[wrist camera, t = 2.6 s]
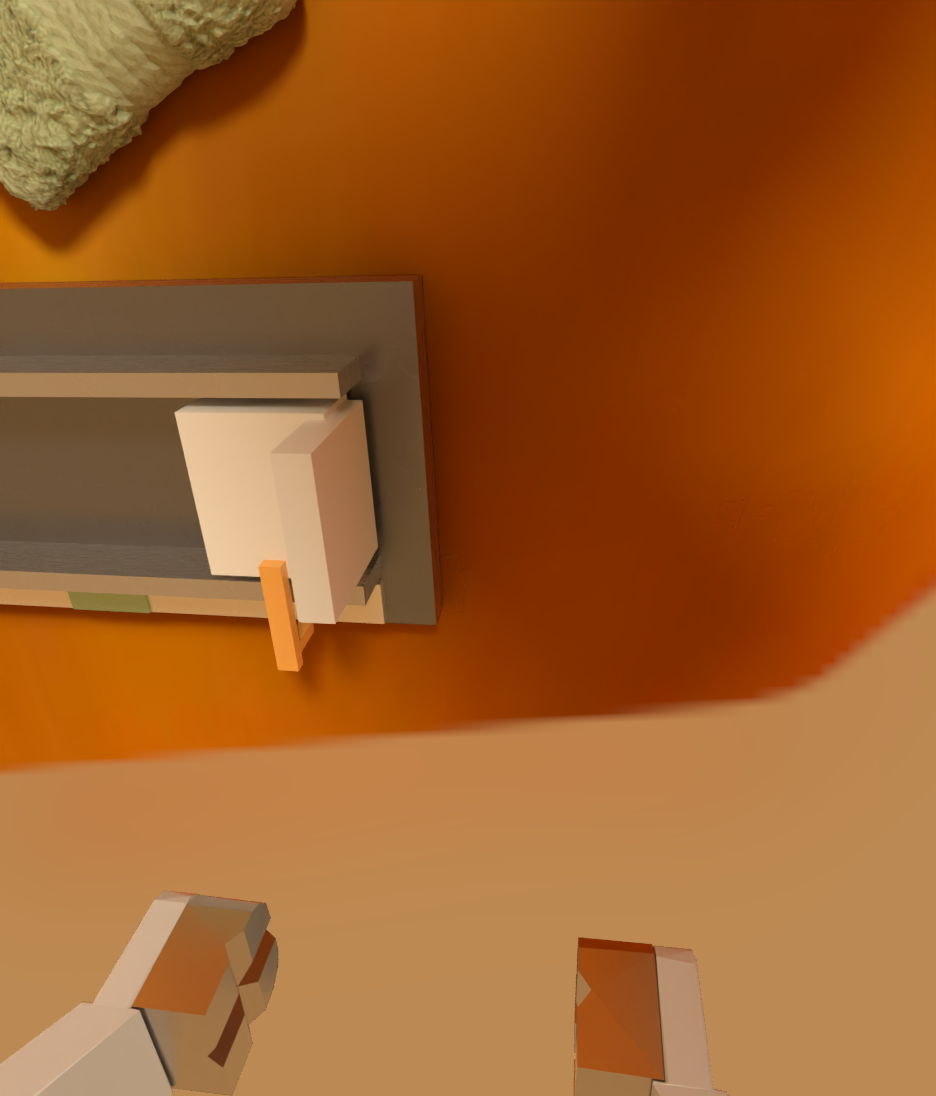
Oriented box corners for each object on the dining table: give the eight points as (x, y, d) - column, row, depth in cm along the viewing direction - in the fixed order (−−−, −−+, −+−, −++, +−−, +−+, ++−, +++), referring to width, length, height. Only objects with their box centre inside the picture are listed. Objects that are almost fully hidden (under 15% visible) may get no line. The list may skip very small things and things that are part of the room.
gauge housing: (421, 274, 25) (360, 316, 18) (443, 605, 31) (402, 727, 24) (-323, 289, 29) (-590, 327, 22) (-177, 575, 35) (-354, 671, 28)
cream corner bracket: (363, 392, 25) (309, 447, 20) (388, 631, 29) (349, 721, 25) (208, 391, 26) (122, 444, 21) (255, 623, 30) (193, 710, 25)
